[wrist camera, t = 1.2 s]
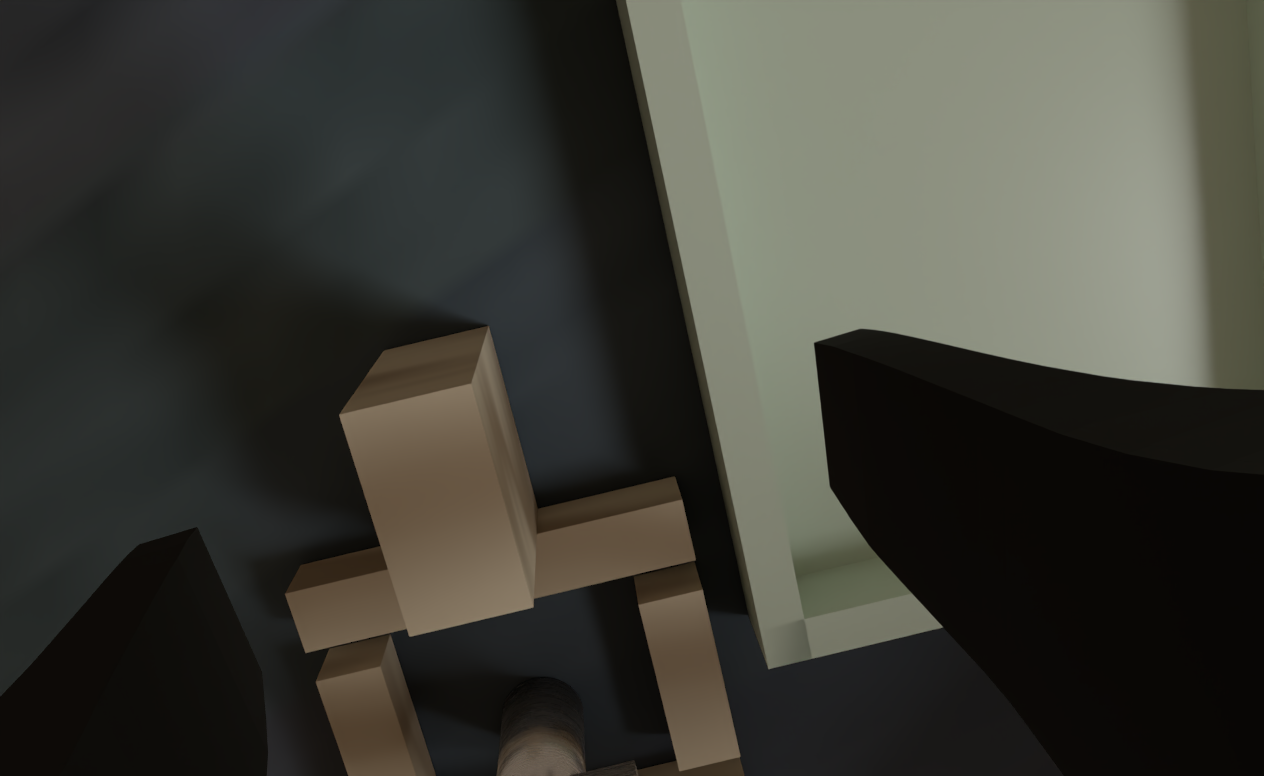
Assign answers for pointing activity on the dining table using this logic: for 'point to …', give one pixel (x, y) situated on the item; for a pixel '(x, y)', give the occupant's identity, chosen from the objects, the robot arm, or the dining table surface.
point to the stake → (547, 733)
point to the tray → (939, 228)
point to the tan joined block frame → (488, 559)
